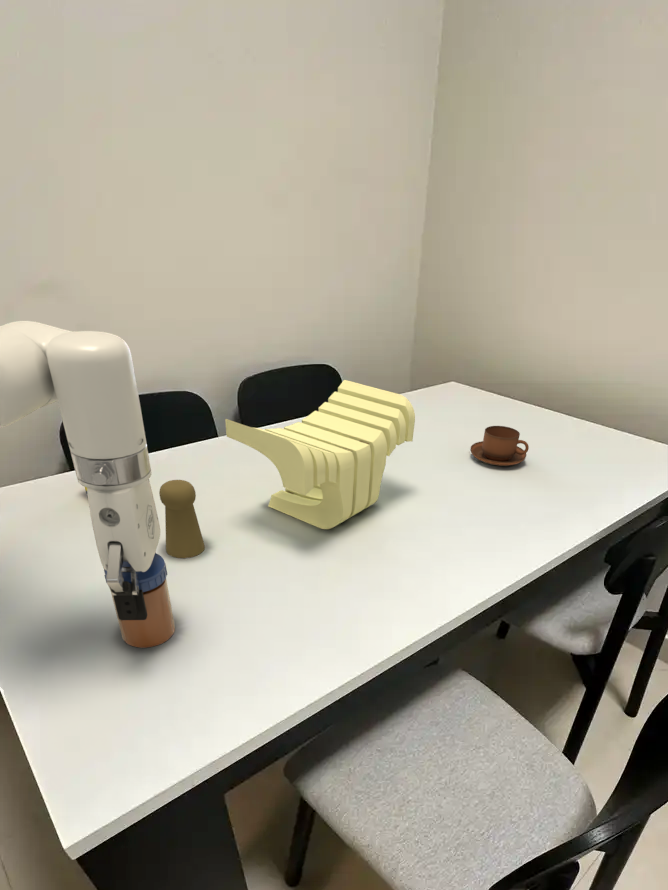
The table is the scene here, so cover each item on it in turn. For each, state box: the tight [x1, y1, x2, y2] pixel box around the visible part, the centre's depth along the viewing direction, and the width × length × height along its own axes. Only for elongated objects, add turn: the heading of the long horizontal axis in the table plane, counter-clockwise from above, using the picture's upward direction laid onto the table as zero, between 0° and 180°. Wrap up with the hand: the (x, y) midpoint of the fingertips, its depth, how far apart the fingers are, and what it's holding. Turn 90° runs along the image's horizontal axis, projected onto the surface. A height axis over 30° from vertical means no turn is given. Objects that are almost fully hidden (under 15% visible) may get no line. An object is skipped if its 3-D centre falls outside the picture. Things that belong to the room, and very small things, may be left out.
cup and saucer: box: [470, 425, 530, 467], centre depth 125 cm, size 12×12×6 cm
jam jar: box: [109, 578, 176, 649], centre depth 73 cm, size 7×7×9 cm
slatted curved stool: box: [224, 379, 416, 530], centre depth 100 cm, size 30×16×18 cm, turn 143°
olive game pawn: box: [158, 479, 206, 559], centre depth 89 cm, size 6×6×11 cm
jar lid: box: [103, 553, 168, 592], centre depth 70 cm, size 7×7×2 cm
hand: (140, 596), depth 72 cm, fingers open, 8 cm apart
